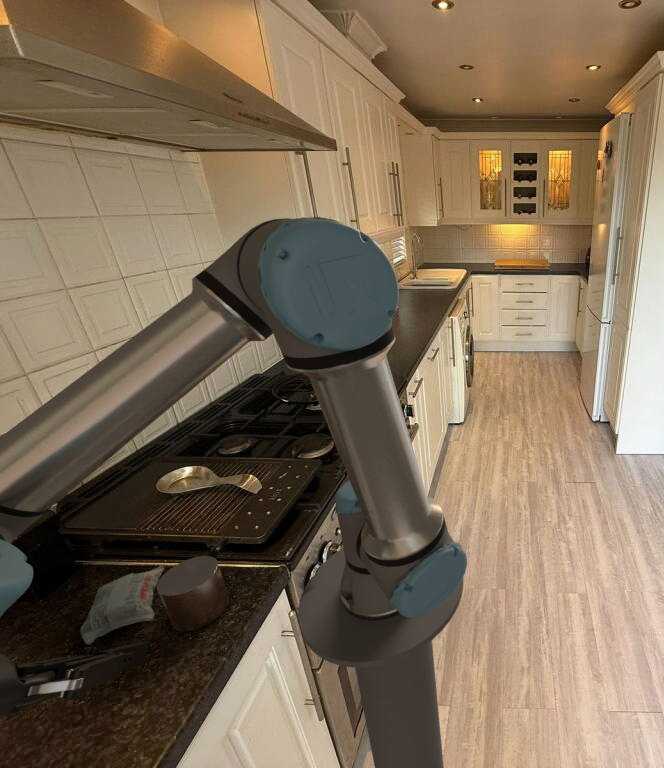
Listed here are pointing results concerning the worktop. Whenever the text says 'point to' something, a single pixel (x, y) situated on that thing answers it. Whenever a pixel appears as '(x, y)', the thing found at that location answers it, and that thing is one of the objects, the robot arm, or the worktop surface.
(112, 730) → the worktop surface
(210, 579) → the saucepan
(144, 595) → the packaged food
